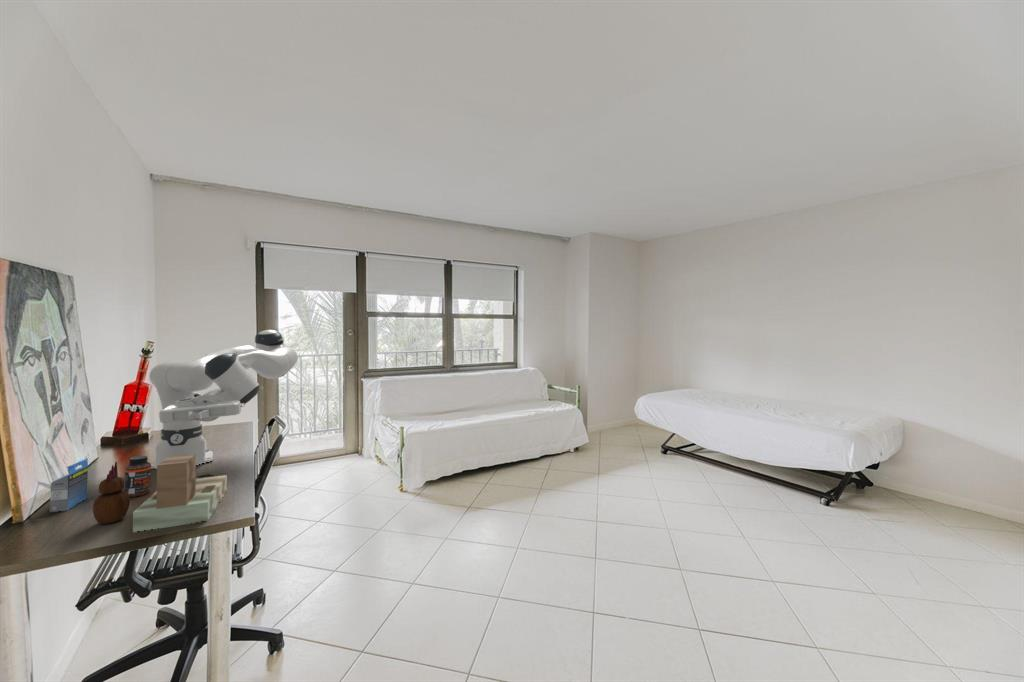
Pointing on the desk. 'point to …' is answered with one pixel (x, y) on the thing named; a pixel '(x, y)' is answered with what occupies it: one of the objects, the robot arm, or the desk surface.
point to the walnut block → (176, 481)
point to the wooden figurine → (111, 499)
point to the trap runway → (195, 511)
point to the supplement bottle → (138, 476)
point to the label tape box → (69, 488)
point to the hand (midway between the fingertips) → (194, 416)
